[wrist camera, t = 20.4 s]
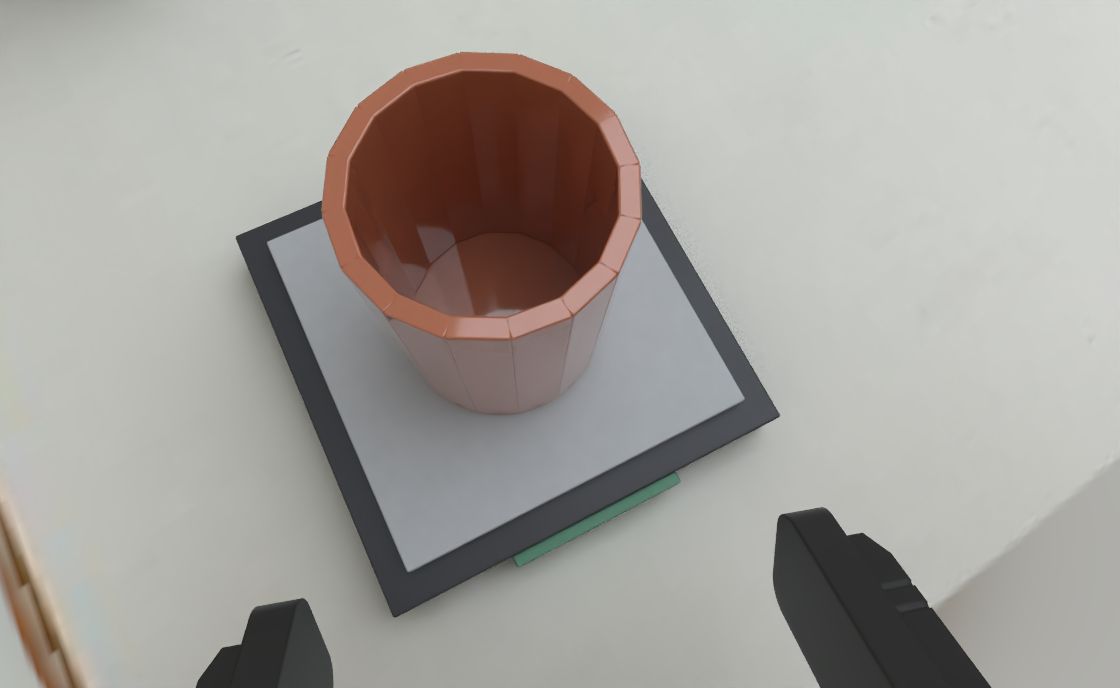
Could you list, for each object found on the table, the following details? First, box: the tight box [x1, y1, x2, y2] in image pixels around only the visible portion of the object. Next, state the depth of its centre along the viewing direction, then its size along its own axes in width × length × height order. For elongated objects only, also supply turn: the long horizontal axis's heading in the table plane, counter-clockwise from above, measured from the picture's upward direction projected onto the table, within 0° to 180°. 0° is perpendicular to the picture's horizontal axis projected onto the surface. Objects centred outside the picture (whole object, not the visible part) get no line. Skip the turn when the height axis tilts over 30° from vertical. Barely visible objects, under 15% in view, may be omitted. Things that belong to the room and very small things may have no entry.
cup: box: [321, 52, 642, 415], centre depth 19 cm, size 7×7×9 cm
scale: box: [236, 178, 780, 617], centre depth 24 cm, size 14×14×3 cm
